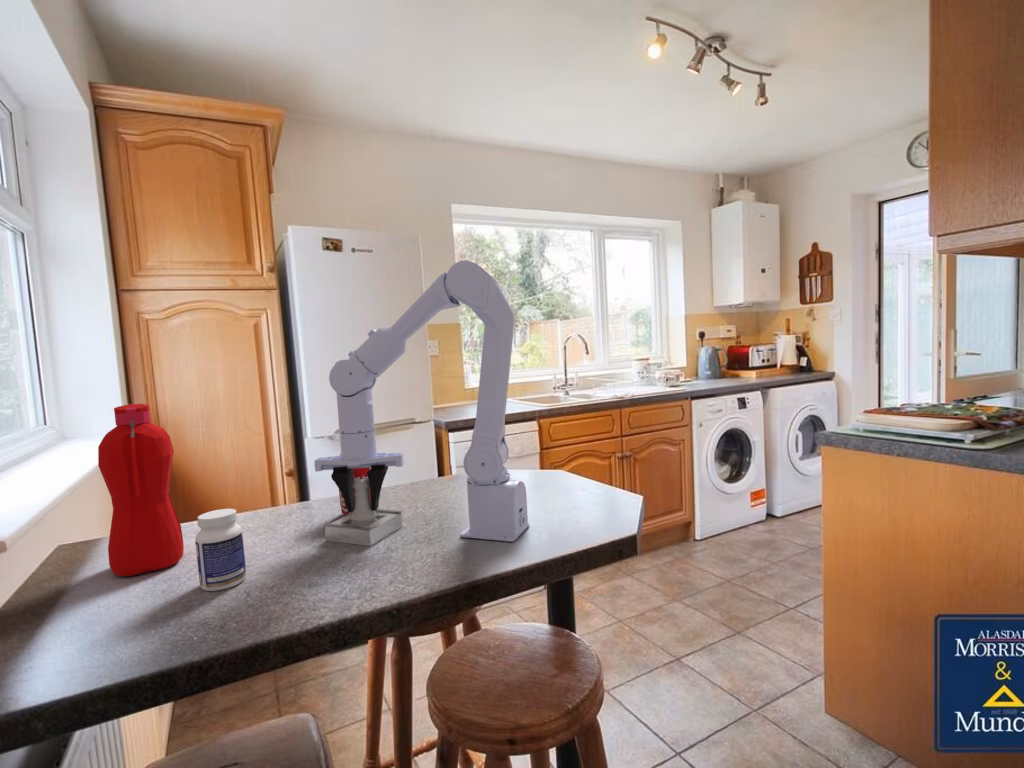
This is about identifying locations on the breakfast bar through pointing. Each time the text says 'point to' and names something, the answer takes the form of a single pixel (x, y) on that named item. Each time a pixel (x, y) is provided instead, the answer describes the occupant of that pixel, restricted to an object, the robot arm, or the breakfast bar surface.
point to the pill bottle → (220, 550)
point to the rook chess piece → (362, 503)
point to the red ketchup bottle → (139, 494)
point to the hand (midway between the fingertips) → (363, 509)
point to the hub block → (364, 528)
